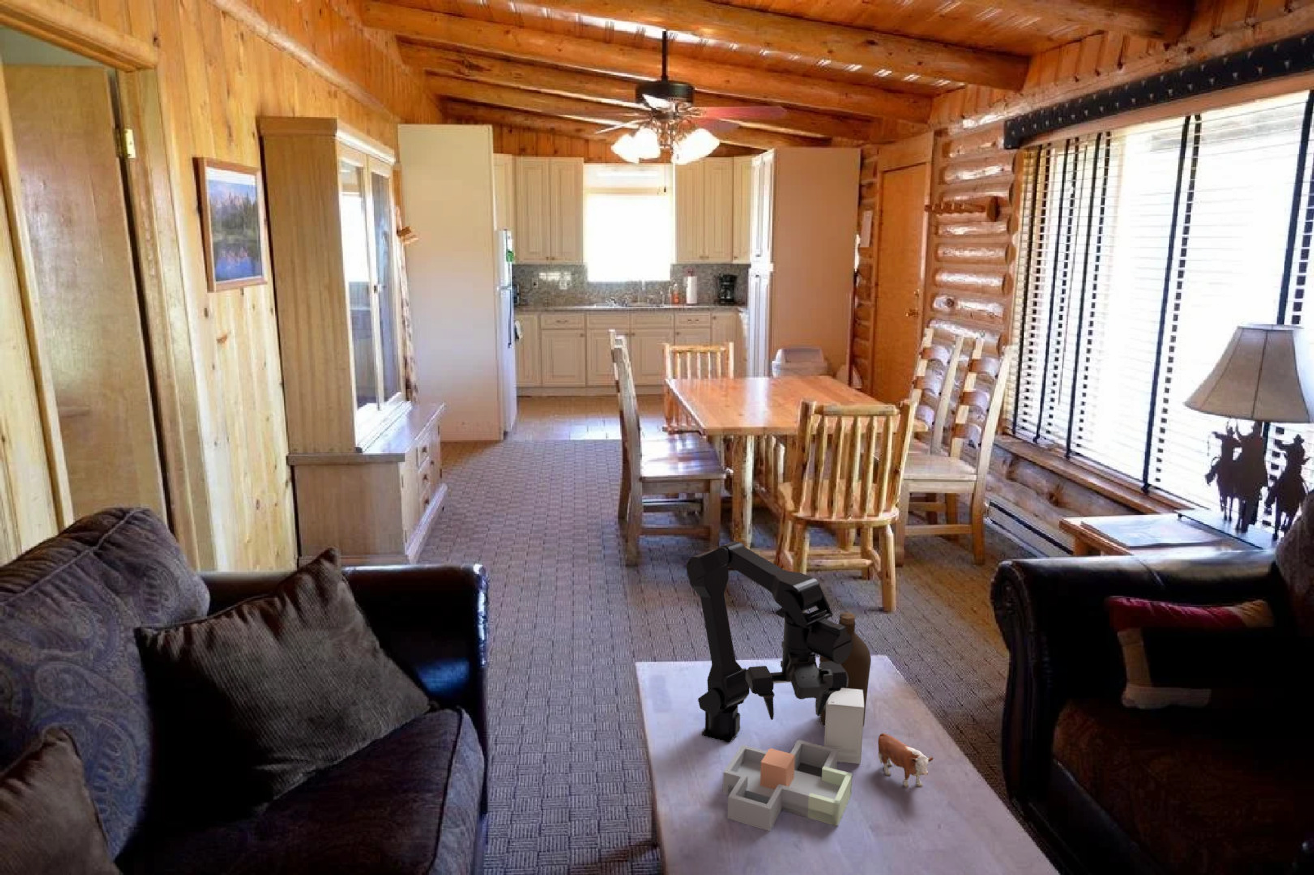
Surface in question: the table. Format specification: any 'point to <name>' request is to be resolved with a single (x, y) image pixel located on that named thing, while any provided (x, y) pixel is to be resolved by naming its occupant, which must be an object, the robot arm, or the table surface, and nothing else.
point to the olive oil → (854, 662)
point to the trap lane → (808, 795)
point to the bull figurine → (902, 758)
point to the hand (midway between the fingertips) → (794, 716)
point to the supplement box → (845, 724)
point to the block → (777, 769)
